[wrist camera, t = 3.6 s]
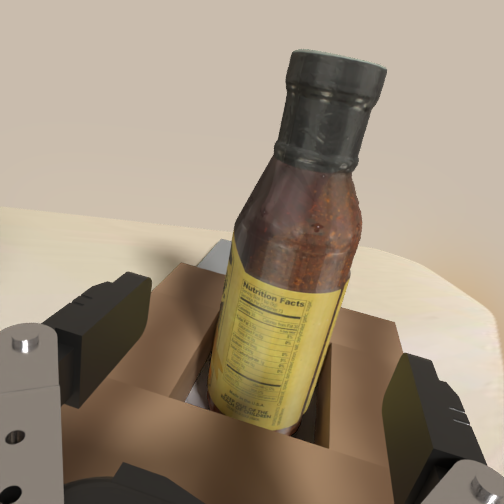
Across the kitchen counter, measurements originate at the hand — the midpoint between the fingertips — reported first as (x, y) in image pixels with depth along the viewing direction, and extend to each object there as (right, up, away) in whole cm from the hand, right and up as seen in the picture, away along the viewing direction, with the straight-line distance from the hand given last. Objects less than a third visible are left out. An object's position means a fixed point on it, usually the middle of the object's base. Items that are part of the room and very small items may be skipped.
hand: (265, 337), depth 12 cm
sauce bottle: (0, -7, +12) cm, 14 cm away
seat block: (0, -7, +12) cm, 14 cm away
